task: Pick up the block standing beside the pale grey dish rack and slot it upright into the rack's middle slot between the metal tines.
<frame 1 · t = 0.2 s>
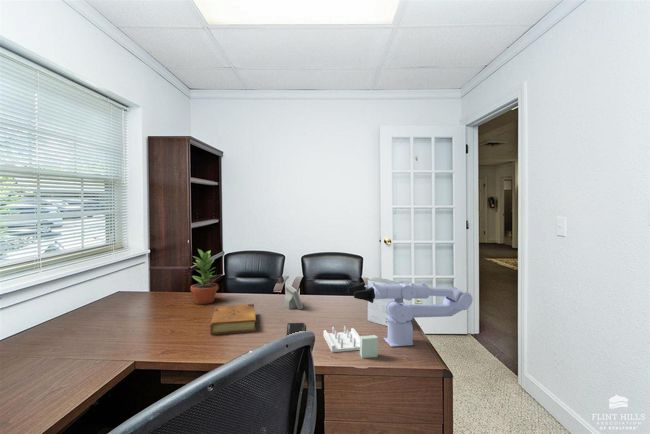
hand: (351, 292, 127), 21 cm above the table, tool horizontal, fingers open, 7 cm apart
diary: (234, 324, 152), on the table
hard drive box: (384, 323, 155), on the table
phone: (296, 331, 144), on the table
dish rack: (343, 342, 132), on the table
block: (368, 355, 120), on the table
potted plant: (205, 301, 186), on the table
grey angular sculpture: (293, 306, 179), on the table
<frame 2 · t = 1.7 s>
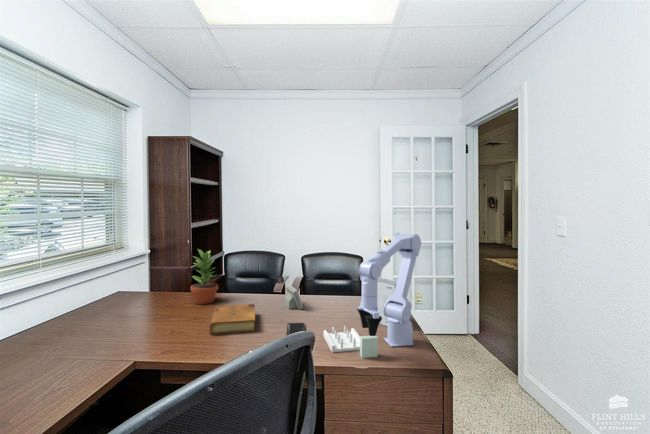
hand: (368, 331, 120), 9 cm above the table, tool pointing down, fingers open, 7 cm apart
nothing on the table moved.
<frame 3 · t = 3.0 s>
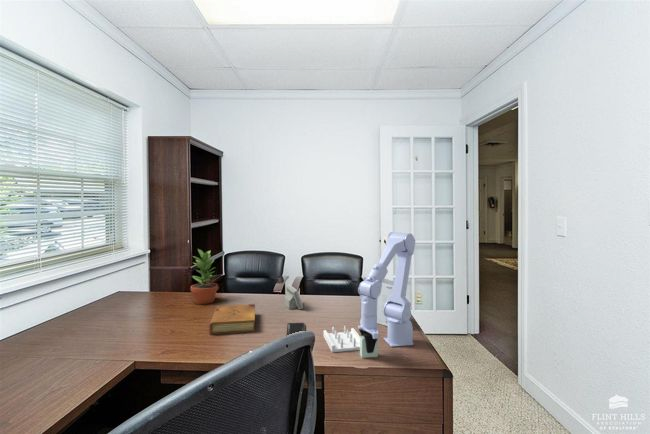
hand: (368, 350, 120), 2 cm above the table, tool pointing down, fingers closed on block, 2 cm apart
block: (368, 355, 120), on the table, touching gripper
everything else where it was.
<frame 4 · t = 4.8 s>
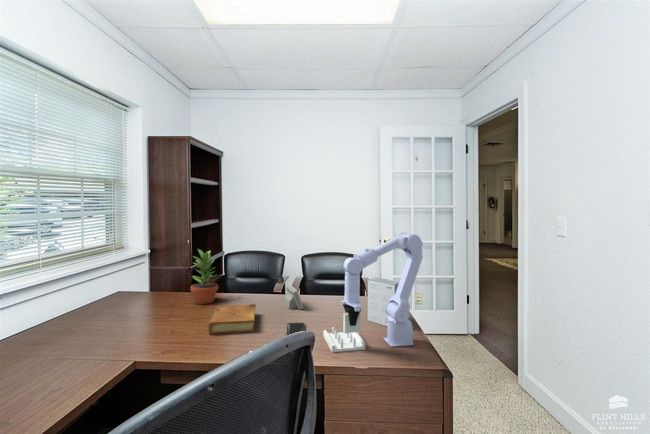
hand: (351, 324, 127), 9 cm above the table, tool pointing down, fingers closed on block, 2 cm apart
block: (351, 331, 128), point 6 cm above the table, touching gripper
everything else where it was.
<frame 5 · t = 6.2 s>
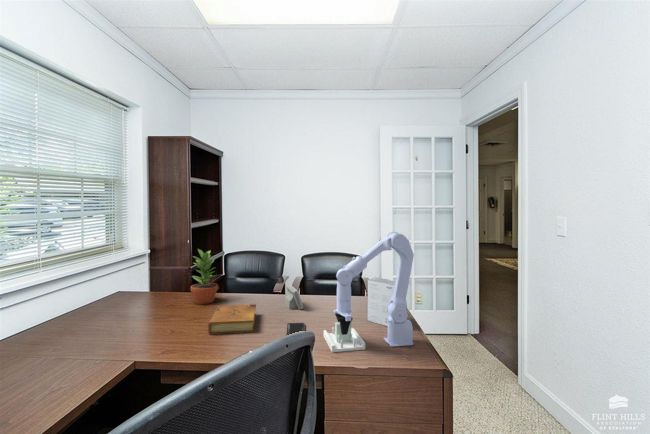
hand: (343, 332, 132), 4 cm above the table, tool pointing down, fingers closed on block, 2 cm apart
block: (343, 340, 132), point 1 cm above the table, touching dish rack, gripper
everything else where it was.
when the fingers open (4 cm above the table, at t = 6.8 s): block stays where it is, resting on dish rack.
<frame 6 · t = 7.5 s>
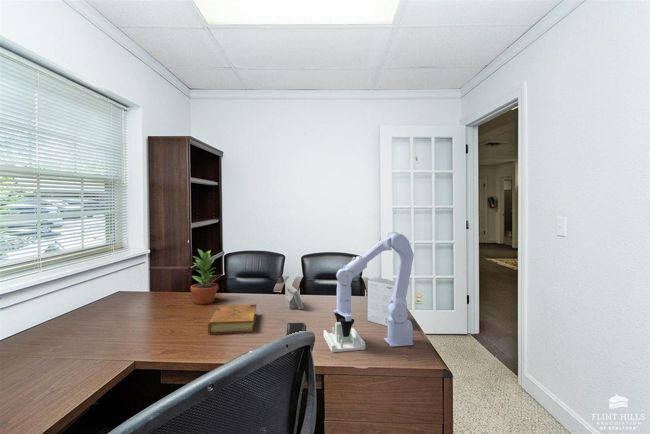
hand: (343, 332, 132), 4 cm above the table, tool pointing down, fingers open, 7 cm apart
block: (343, 340, 132), point 1 cm above the table, touching dish rack
everything else where it was.
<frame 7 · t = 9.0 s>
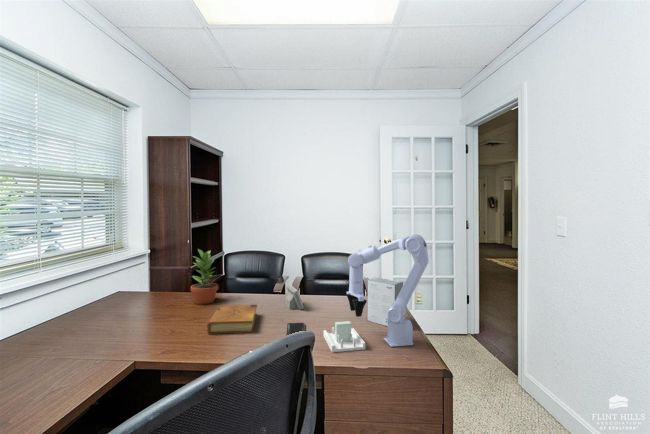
hand: (355, 313, 139), 9 cm above the table, tool pointing down, fingers open, 7 cm apart
nothing on the table moved.
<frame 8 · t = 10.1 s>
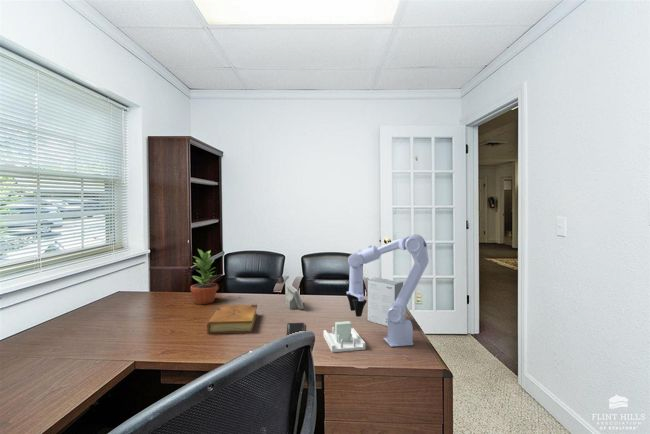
hand: (355, 313, 139), 9 cm above the table, tool pointing down, fingers open, 7 cm apart
at the end: block 0.2 cm off-centre on the dish rack, point 1.0 cm above the dish rack's base; block tilted 0°; the gripper is holding nothing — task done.
